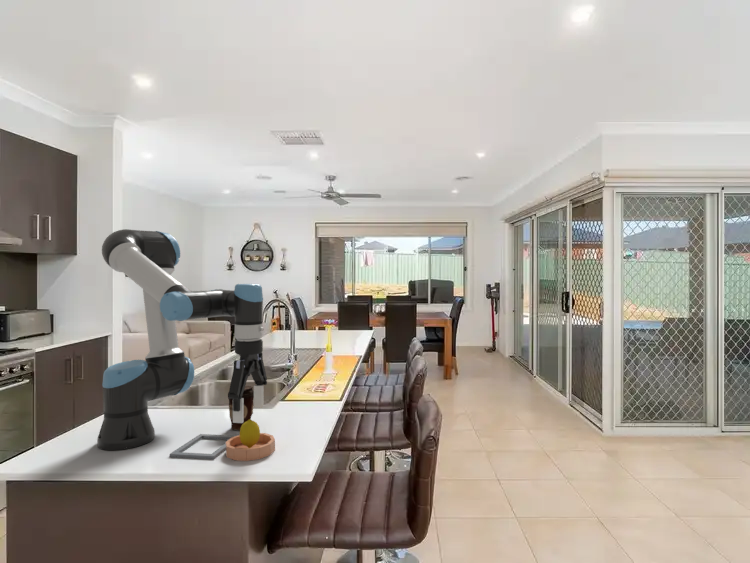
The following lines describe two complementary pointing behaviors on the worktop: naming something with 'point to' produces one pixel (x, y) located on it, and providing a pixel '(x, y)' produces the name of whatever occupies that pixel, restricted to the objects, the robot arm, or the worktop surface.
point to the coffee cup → (248, 407)
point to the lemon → (249, 433)
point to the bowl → (257, 451)
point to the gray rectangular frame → (215, 454)
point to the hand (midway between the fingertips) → (248, 414)
